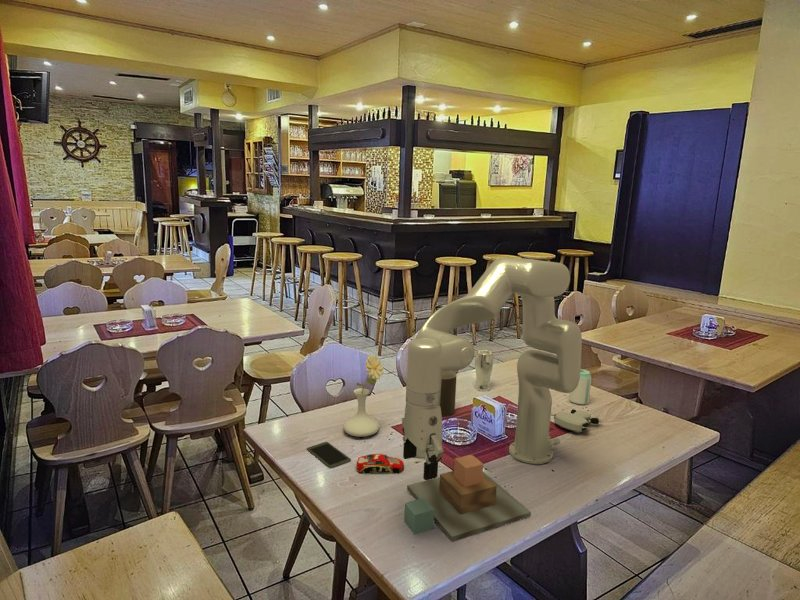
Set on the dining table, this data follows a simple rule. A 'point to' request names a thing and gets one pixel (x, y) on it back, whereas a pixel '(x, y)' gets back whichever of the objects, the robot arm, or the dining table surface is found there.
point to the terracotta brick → (468, 470)
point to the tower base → (471, 518)
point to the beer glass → (483, 369)
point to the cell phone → (329, 455)
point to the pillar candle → (448, 393)
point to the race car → (379, 464)
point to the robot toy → (575, 420)
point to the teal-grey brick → (419, 516)
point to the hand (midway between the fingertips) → (419, 467)
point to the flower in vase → (362, 421)
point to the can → (582, 389)
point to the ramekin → (421, 454)
